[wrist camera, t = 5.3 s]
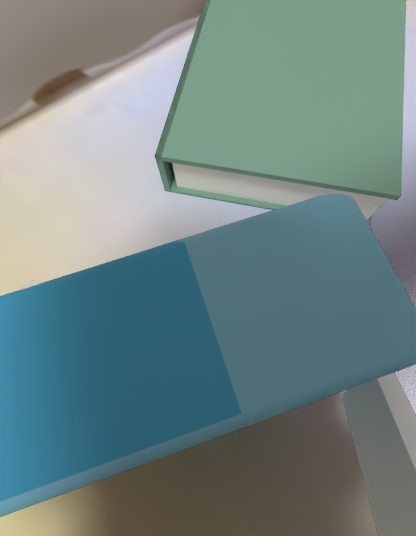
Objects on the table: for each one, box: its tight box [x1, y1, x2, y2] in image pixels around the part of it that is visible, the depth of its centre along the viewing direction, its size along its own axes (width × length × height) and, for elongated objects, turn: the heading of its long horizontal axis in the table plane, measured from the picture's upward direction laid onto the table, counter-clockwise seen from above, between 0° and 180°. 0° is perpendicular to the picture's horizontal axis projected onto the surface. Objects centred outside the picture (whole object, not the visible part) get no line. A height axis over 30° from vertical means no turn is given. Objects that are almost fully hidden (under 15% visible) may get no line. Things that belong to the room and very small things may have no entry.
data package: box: [0, 194, 416, 517], centre depth 13 cm, size 12×4×12 cm, turn 108°
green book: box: [155, 0, 406, 226], centre depth 23 cm, size 14×19×4 cm
